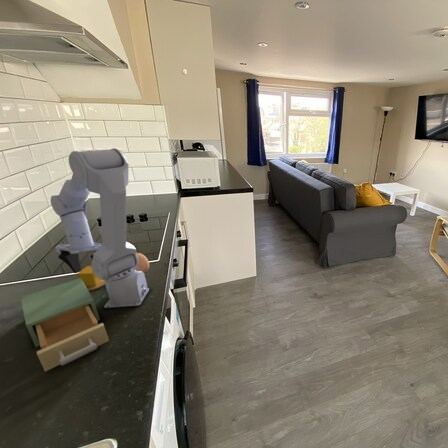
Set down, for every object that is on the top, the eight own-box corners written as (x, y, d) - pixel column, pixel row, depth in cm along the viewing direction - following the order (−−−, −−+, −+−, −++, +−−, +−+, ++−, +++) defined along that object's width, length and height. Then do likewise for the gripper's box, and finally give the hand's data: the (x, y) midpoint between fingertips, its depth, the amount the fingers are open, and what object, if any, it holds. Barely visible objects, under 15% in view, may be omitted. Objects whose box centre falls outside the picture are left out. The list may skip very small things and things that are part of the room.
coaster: (115, 274, 90) (115, 273, 90) (101, 290, 82) (101, 289, 82) (86, 276, 89) (86, 275, 89) (69, 292, 81) (69, 291, 81)
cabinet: (100, 319, 70) (93, 299, 68) (35, 347, 61) (25, 325, 59) (86, 296, 79) (80, 277, 77) (29, 317, 70) (20, 297, 68)
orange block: (96, 285, 83) (92, 273, 82) (81, 285, 83) (77, 273, 82) (105, 277, 88) (101, 265, 86) (91, 277, 87) (87, 265, 86)
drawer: (114, 350, 60) (109, 334, 58) (48, 384, 52) (39, 367, 50) (94, 314, 71) (89, 299, 69) (36, 337, 63) (29, 321, 61)
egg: (152, 268, 95) (148, 247, 92) (149, 279, 88) (144, 257, 85) (129, 271, 92) (123, 250, 89) (124, 283, 86) (118, 260, 83)
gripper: (41, 238, 75) (56, 278, 80) (94, 238, 76) (105, 278, 81) (61, 228, 81) (73, 266, 86) (109, 228, 82) (119, 266, 87)
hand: (90, 271), depth 84 cm, fingers open, 7 cm apart
